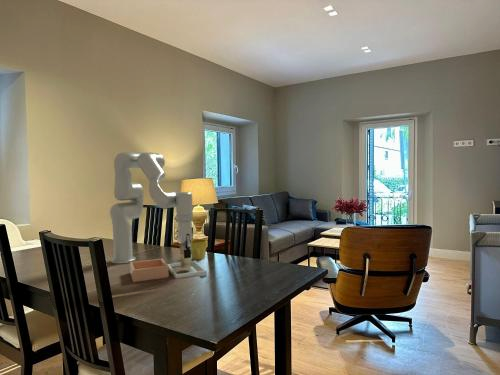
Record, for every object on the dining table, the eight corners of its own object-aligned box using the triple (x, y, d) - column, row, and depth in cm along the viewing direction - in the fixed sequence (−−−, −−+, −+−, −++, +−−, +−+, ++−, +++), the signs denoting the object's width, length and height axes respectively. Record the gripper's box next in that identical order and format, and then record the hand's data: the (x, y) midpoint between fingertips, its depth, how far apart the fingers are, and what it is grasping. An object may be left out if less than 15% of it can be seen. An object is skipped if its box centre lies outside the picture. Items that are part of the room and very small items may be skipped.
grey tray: (167, 269, 170) (167, 264, 170) (195, 265, 176) (195, 260, 175) (175, 280, 152) (175, 275, 151) (206, 276, 157) (206, 270, 157)
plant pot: (185, 259, 188) (184, 241, 188) (196, 255, 198) (196, 238, 197) (200, 261, 184) (200, 243, 183) (211, 257, 193) (211, 239, 192)
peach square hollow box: (130, 275, 161) (129, 262, 161) (162, 270, 167) (162, 258, 167) (133, 284, 148) (132, 270, 147) (168, 279, 154) (168, 265, 153)
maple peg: (180, 266, 165) (179, 241, 164) (190, 264, 167) (189, 239, 166) (182, 268, 160) (181, 242, 160) (192, 267, 162) (192, 241, 162)
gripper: (173, 217, 169) (174, 253, 169) (180, 221, 153) (182, 261, 154) (188, 215, 172) (189, 252, 172) (197, 219, 156) (198, 259, 157)
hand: (186, 256), depth 163 cm, fingers closed on maple peg, 5 cm apart
